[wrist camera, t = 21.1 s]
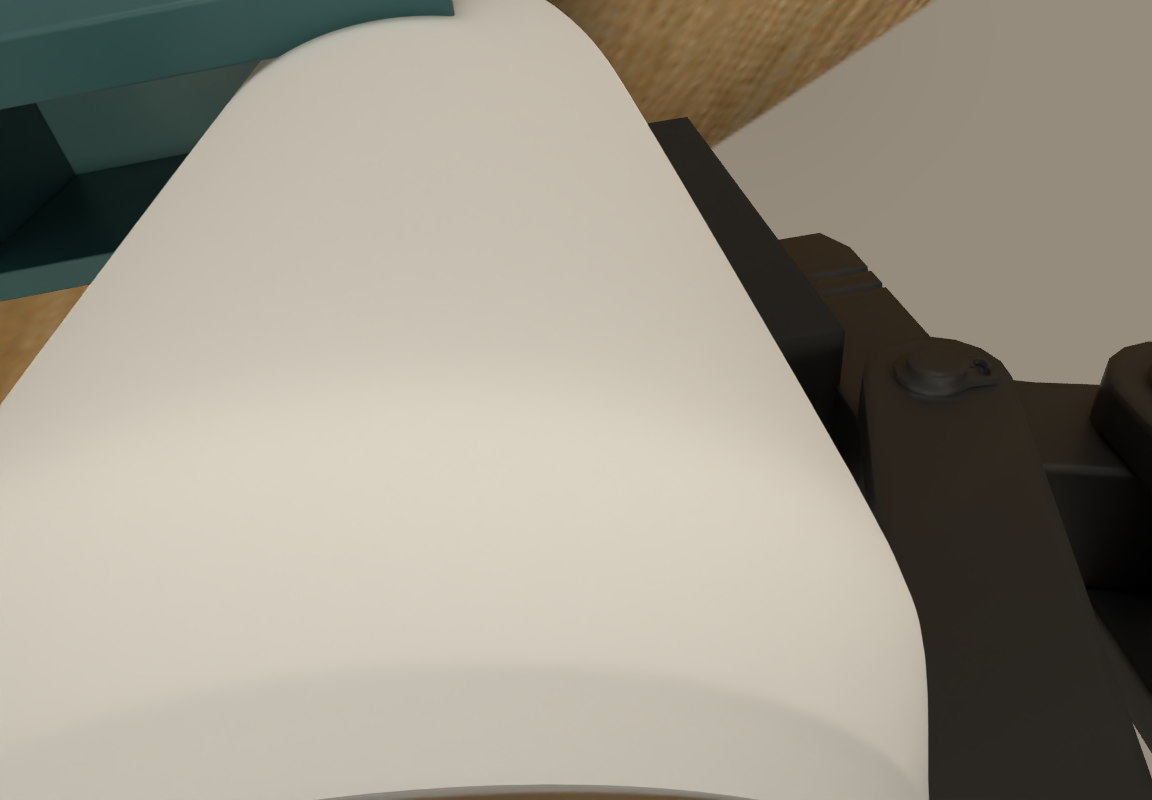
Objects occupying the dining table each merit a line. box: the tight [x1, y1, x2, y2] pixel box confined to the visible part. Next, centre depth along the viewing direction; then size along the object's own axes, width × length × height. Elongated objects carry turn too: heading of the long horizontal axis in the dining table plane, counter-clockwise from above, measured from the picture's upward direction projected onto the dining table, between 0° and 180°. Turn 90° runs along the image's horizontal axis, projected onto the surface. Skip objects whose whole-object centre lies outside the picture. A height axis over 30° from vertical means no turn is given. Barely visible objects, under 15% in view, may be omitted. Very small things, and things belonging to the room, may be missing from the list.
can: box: [0, 0, 929, 800], centre depth 8 cm, size 6×6×12 cm
